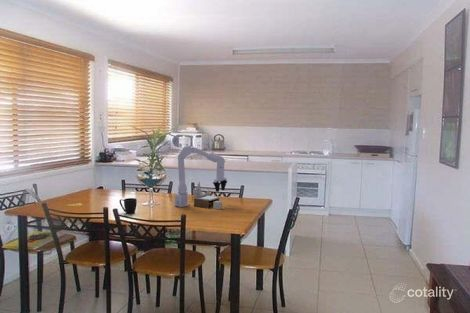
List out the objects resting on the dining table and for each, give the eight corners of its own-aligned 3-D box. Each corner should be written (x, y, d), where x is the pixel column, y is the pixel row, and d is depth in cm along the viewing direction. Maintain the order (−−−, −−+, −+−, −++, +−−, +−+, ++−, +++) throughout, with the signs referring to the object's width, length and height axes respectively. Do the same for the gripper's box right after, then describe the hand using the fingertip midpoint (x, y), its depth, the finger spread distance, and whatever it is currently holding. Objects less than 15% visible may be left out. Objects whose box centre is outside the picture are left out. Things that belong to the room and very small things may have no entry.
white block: (218, 209, 287) (218, 202, 286) (213, 208, 289) (213, 201, 289) (222, 208, 291) (222, 201, 290) (216, 207, 293) (216, 200, 293)
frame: (207, 208, 291) (207, 200, 290) (194, 206, 297) (194, 198, 296) (219, 204, 304) (219, 197, 304) (205, 202, 310) (205, 195, 310)
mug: (123, 211, 278) (123, 197, 277) (139, 212, 274) (139, 198, 274) (116, 213, 270) (116, 199, 269) (132, 215, 266) (132, 200, 266)
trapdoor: (209, 200, 292) (209, 197, 291) (196, 198, 298) (196, 196, 297) (218, 198, 302) (218, 195, 302) (205, 196, 308) (205, 193, 308)
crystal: (207, 201, 314) (207, 182, 313) (191, 201, 316) (191, 181, 315) (210, 199, 324) (210, 180, 322) (194, 198, 326) (194, 180, 325)
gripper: (219, 174, 293) (219, 192, 294) (230, 172, 305) (229, 190, 306) (211, 173, 296) (211, 191, 297) (222, 171, 309) (221, 189, 310)
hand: (220, 190), depth 302 cm, fingers open, 7 cm apart
